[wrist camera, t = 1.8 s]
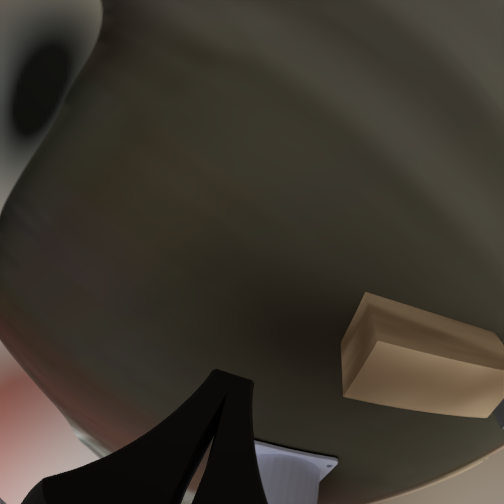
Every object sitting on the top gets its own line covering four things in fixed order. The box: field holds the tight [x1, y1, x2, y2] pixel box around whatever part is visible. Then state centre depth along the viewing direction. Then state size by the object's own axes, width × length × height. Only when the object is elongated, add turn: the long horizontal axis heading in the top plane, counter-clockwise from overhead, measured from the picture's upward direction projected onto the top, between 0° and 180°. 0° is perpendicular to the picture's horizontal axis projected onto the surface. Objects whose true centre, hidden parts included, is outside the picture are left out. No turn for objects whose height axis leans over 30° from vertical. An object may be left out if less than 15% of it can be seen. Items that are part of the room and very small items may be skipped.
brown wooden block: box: [341, 292, 504, 418], centre depth 14 cm, size 4×10×4 cm, turn 75°
